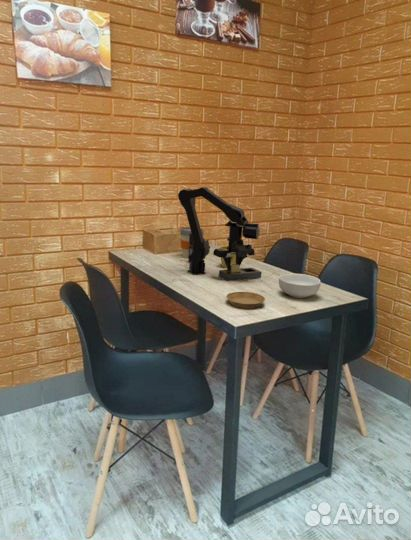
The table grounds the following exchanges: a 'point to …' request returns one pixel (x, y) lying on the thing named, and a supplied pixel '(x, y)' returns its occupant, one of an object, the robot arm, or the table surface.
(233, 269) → the nut
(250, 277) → the rail
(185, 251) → the reusable coffee cup
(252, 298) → the plant saucer
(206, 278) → the table surface
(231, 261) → the plant pot
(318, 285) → the cereal bowl
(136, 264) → the table surface
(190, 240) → the deodorant
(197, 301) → the table surface
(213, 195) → the robot arm
